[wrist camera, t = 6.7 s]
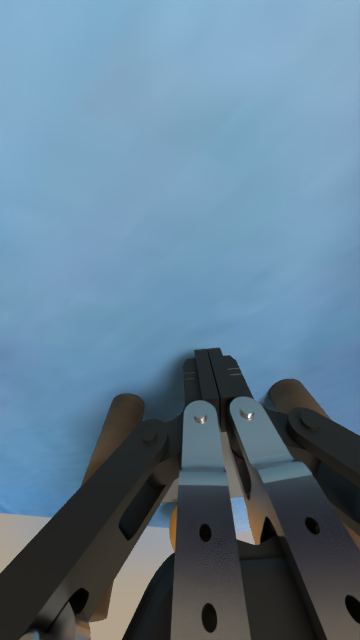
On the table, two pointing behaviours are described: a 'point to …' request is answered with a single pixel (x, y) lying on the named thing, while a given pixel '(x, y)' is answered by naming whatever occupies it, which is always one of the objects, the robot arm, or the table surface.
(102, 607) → the post
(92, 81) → the table surface
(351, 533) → the post
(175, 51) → the table surface
